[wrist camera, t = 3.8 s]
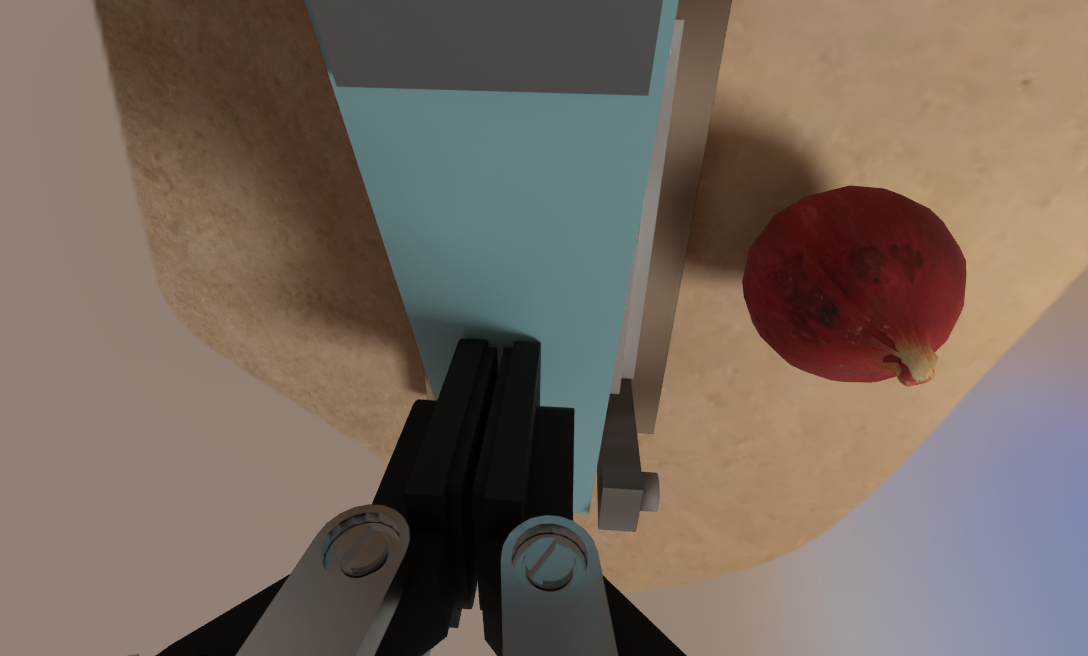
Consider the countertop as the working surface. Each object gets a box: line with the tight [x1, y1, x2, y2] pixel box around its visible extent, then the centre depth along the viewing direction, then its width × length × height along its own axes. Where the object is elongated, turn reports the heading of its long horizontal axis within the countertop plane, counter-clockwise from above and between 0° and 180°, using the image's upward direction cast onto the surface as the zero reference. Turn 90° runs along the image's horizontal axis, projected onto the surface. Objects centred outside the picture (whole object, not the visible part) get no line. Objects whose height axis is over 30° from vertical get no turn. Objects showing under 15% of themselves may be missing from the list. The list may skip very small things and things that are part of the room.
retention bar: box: [304, 0, 679, 514], centre depth 11 cm, size 18×4×1 cm, turn 179°
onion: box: [742, 186, 966, 387], centre depth 16 cm, size 6×6×8 cm
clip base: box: [422, 0, 732, 532], centre depth 14 cm, size 23×10×10 cm, turn 179°
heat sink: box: [610, 17, 684, 394], centre depth 16 cm, size 10×6×4 cm, turn 179°
